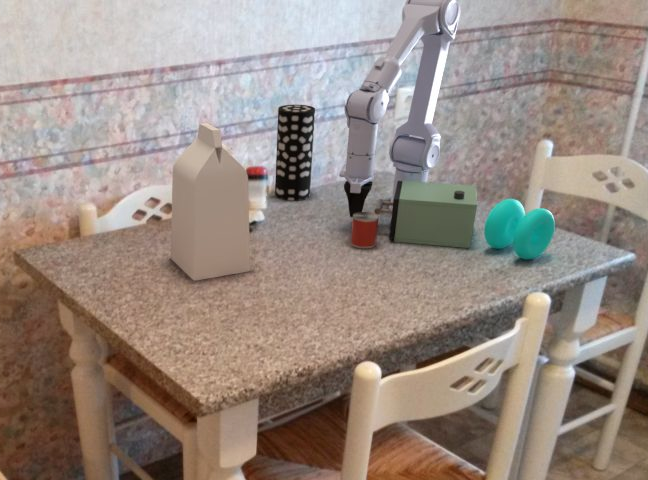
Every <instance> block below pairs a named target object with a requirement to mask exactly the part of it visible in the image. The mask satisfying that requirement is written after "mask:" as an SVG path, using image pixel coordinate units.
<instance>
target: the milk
mask: <svg viewBox="0 0 648 480" xmlns="http://www.w3.org/2000/svg"><path fill="white" fill-rule="evenodd" d="M220 130H221V129H219V128H217V127H215V126H214V125H211V124H210V123H208V122H201V123H199V124H198V131H197V137H196V138H195V139H194V141H192V142H191V144H189V146H188V147H186V149H185V150H184V151H183V152H182V153H181V154H179V156H178V158H177V159H176V160H175V161H174V163H173V166H172V181H171V182H172V184H171V186H172V187H171V223H170V224H171V225H170V228H171V229H170V260H171V261H173V262H174V264H175V265H176V266H178V267H179V268H180V269H181V270H182V272H184V273H185V274H186V275H187V276H188V277H189V278H190V279H191V280H192V281H194V282H196V281H201V280H207V279H214V278H218V277H224V276H231V275H236V274H241V273H242V274H243V273H249V272H251V245H250V244H251V243H250V241H251V239H250V202H249V201H250V199H249V175H248V172H247V171H246V169H245V168H244V166H243V165H242V164H241V163H240V162H239V161H238V160H236V159H235V158H234V157H233V155H234V152H233V150H232V149H230V147H229V146H227V145H226V144H225V143H224V142H222V135H221V131H220Z"/></svg>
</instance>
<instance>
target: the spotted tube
mask: <svg viewBox="0 0 648 480" xmlns="http://www.w3.org/2000/svg"><path fill="white" fill-rule="evenodd" d="M277 110H278V111H277V128H276V129H277V130H276V131H277V132H276V133H277V134H276V154H275V155H276V157H275V180H274V182H275V183H274V196H275V197H276V198H277V199H280V200H284V201H304V200H307V199H308V198H310V197H311V183H312V181H311V180H312V167H313V154H314V153H313V152H314V151H313V149H314V137H315V136H314V135H315V121H316V108H315V107H314V106H311V105H307V104H284V105H281V106H279V107H278V108H277Z"/></svg>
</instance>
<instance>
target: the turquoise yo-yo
mask: <svg viewBox="0 0 648 480" xmlns="http://www.w3.org/2000/svg"><path fill="white" fill-rule="evenodd" d="M555 227H556V221H555V217H554V214H553V213H552V212H551V211H550V210H548V209H547V208H542V207H538V208H534V209H532V210H531V211H529V212H527V213H526V211H525V207H524V206H523V204H522V203H521V202H520V201H519V200H518V199H516V198H515V199H514V198H506V199H503V200H501V201H500V202H498V203H497V204H496V205H495V206H494V207H493V208H492V209H491V210H490V212H489V213H488V216H487V217H486V220H485V224H484V229H483V230H484V231H483V232H484V233H483V234H484V239H485V241H486V243H487V244H488V246H490V247H491V248H493V249H496V250H497V249H498V250H501V249H505V248H507V247H509V246H511V245H512V246H513V250H514V252H515V254H516V256H518V257H519V258H520V259H523V260H529V261H530V260H533V259H536V258H538V257H539V256H541V255H542V254H543V253H544V252H545V251H546V250H547V248H548V247H549V245H550V243H551V241H552V240H553V237H554V234H555V230H556V229H555Z"/></svg>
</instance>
